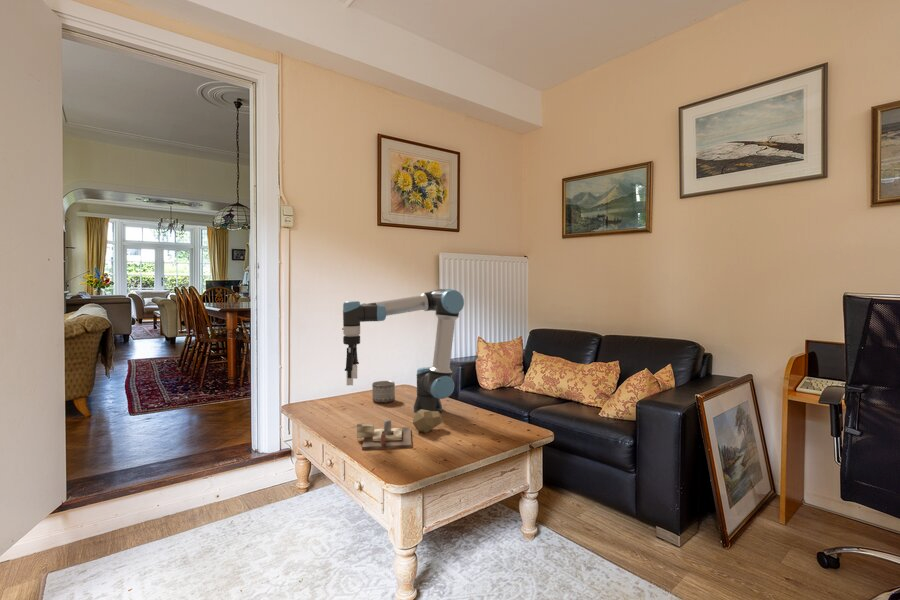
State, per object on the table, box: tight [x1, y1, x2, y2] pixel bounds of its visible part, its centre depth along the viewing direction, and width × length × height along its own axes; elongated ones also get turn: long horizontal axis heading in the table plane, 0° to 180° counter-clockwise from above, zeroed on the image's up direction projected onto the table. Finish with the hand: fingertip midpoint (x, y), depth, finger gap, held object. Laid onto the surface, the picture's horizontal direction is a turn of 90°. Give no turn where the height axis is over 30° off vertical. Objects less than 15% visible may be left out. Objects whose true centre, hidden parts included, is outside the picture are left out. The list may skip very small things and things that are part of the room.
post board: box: [361, 419, 412, 451], centre depth 189 cm, size 20×22×8 cm
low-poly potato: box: [412, 409, 443, 434], centre depth 200 cm, size 15×11×12 cm
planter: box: [371, 380, 396, 404], centre depth 250 cm, size 13×13×10 cm
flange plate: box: [356, 423, 403, 441], centre depth 188 cm, size 19×12×5 cm, turn 97°
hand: (352, 381), depth 199 cm, fingers open, 13 cm apart
